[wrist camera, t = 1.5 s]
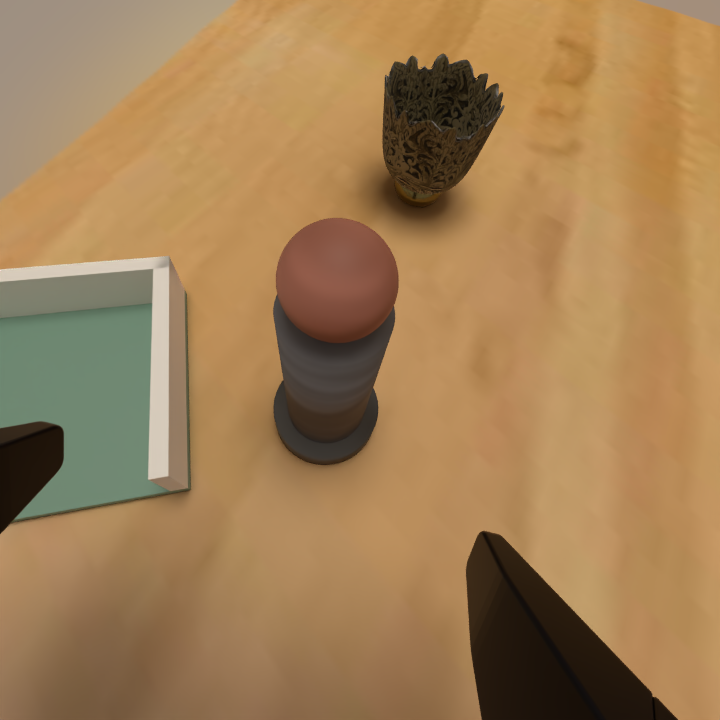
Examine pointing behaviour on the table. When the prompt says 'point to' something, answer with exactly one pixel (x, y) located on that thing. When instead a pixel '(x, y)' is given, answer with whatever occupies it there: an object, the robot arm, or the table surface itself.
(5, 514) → the robot arm
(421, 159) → the cup
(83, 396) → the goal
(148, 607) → the table surface
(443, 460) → the table surface
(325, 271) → the player figure
